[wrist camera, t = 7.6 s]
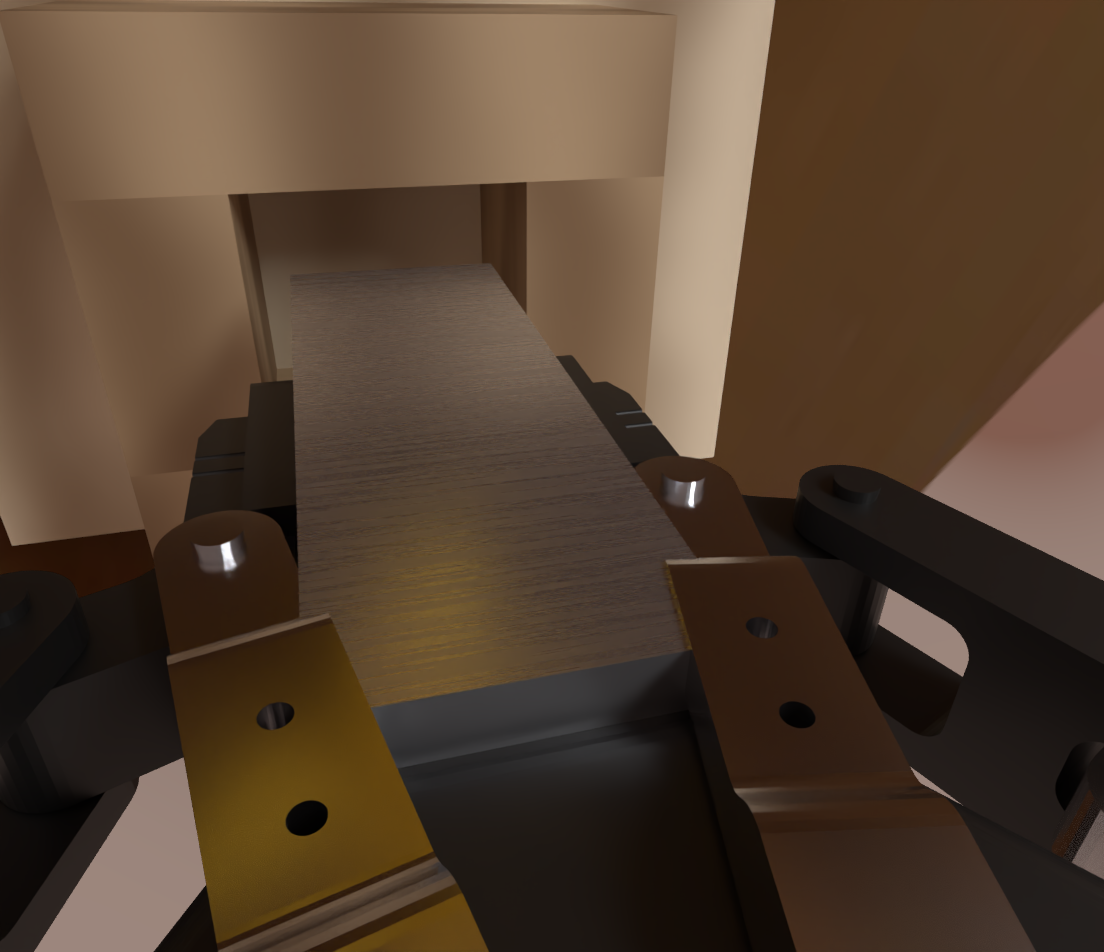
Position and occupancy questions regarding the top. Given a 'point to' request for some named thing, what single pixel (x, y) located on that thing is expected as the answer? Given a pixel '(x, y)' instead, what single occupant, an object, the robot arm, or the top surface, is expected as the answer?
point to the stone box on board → (346, 208)
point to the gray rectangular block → (472, 519)
